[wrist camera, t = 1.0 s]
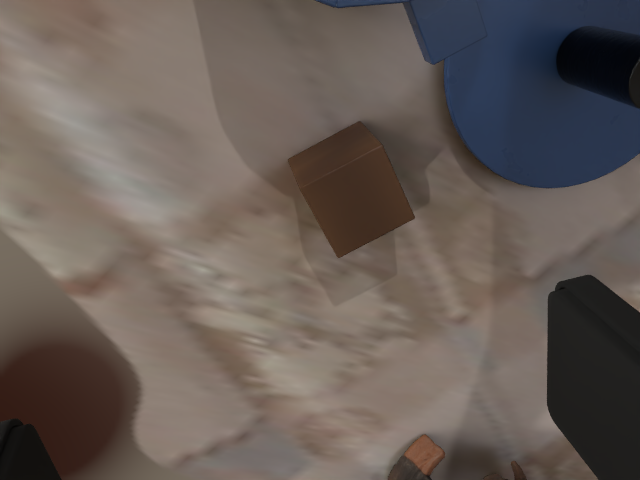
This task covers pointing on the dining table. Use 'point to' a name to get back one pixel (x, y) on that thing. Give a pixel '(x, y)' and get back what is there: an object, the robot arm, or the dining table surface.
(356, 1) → the pot
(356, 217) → the block
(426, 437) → the brown broken vessel
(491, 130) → the lid
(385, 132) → the dining table surface
